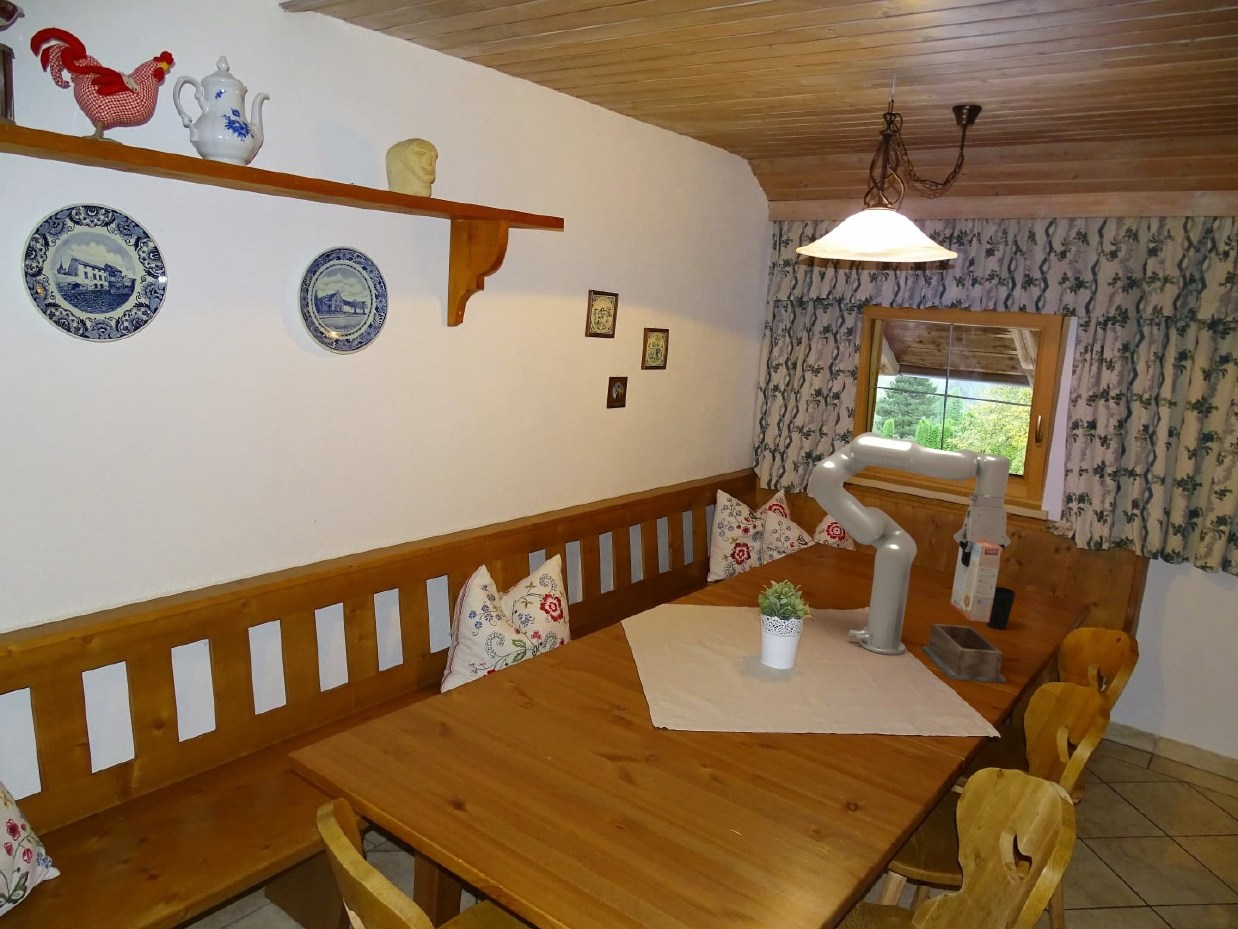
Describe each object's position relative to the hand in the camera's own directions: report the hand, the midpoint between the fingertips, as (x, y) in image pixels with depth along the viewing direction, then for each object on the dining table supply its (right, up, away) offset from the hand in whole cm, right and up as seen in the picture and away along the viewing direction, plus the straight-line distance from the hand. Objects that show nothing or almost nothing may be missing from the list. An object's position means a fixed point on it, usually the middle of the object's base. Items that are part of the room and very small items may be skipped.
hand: (977, 565), depth 237 cm
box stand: (-2, -28, +5) cm, 28 cm away
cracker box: (-1, -14, +2) cm, 14 cm away
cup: (+22, -24, +40) cm, 52 cm away
